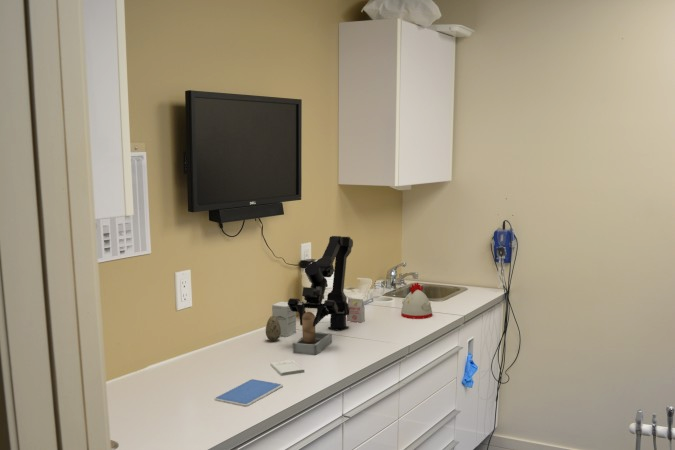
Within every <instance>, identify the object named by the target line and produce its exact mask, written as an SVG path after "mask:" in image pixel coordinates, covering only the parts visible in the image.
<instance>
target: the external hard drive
mask: <svg viewBox="0 0 675 450" xmlns="http://www.w3.org/2000/svg"><path fill="white" fill-rule="evenodd" d="M270 366H271V367H272V368H273V369H274V370H275V371H276V373H278V374H279V375H280V376H288V375H289V376H290V375H296V374H301V373H305V369H304V368H303V367H302V366H301V365H299V364H298V363H297V362H295V361H294V360H293V359H285V360H280V361H271V362H270Z"/></svg>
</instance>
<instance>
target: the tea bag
mask: <svg viewBox="0 0 675 450" xmlns="http://www.w3.org/2000/svg"><path fill="white" fill-rule="evenodd" d="M347 303H348V306H349V308H350V312H349V315H346V322H347V321H351V322H350V323H357V322H358V323H359V324H362V323H364V322H365V320H366V319H365V315H366V314H365V305H364V299H362V298H361V299H360V298H352V297H351V298H348V299H347Z"/></svg>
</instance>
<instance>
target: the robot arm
mask: <svg viewBox="0 0 675 450" xmlns="http://www.w3.org/2000/svg"><path fill="white" fill-rule="evenodd" d="M328 240H329V241H328V243H327V245H326V248H325V250H324V252H323V254H322V257H320V258H319V259H316V260H312V261H311V263H309V264H307V266H305V268H304V273H305V275H306V277H307V279H308V281H309V282H310V283H311V285H310V286H309V287H303V288H302V292H301V293H302V295H301V297H304V301H305V302H304V301H302V300H300V298H298V297H297V298H296V297H294V298H293V297H291V298H289V299H288V301H287V302H288V303H287V304H288V306H289V307H290V309H291V311H293V312H296V313H298V315H299V325H300V326H302V316H303V314H304V313H306V312H307V310H306V309H314V310H316V314H315V315H314V316H315V319H314V323H313V326H314V327H315V328H316V326H317V325H318V324H319V323H320V322H321V320H323V319H324V318H325V317H327V316H329V315H330V321H329V322H330V323H329V324H330V326H328V327H327V329H329V330H333V329H334V331H338V330H340V331H343V330H345V329H349V328H350V326H347V315H349V312H350V308H349V306H348V299H347V295H346V294H345V292H344V290H345V289H344V288H345V280H346V279H345V278H346V268H347V258H348V257H349V256H350V255H351V252H352V248H353V247H354V241H353V238H352V239H351V237H350V236H340V235H331V236H329V239H328ZM333 264H334V265H333ZM332 276H333V279H332V280H333V281H332V289H331V291H330V292H328V293H327V298H326V300H324V299H325V293H326V289H327V288H328V280H327V278H331V277H332ZM323 300H324V301H323Z"/></svg>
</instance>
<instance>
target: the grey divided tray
mask: <svg viewBox="0 0 675 450" xmlns="http://www.w3.org/2000/svg"><path fill="white" fill-rule="evenodd" d="M332 335H333V334H332V333H328V332H316V331H315V341H316V342H315V343H312V344H306V343H303V336H302V337H301V338H299V339H298V340H297V341H295V342H293V343H292V348H293V349H292V350H293V354H302V355H303V354H304V355H310V356H311V355H313V356H316V355H318V354H319V353H321V352H322V351H323V350H324V349H326V347H328V346H329V345H331V344H332V343H333V339H332Z"/></svg>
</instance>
